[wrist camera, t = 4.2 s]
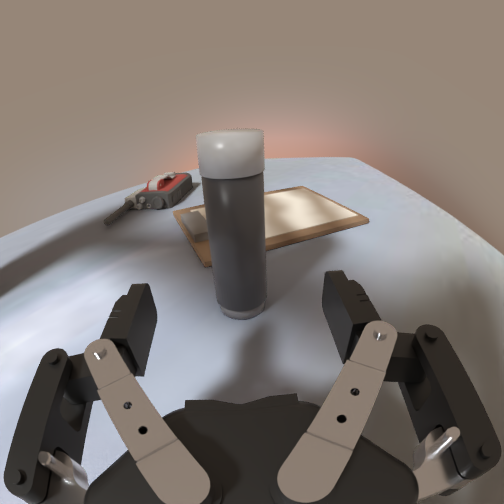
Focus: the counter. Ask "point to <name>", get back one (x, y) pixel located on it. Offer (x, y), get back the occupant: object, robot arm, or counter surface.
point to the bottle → (235, 217)
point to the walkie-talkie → (156, 194)
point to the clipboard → (278, 220)
